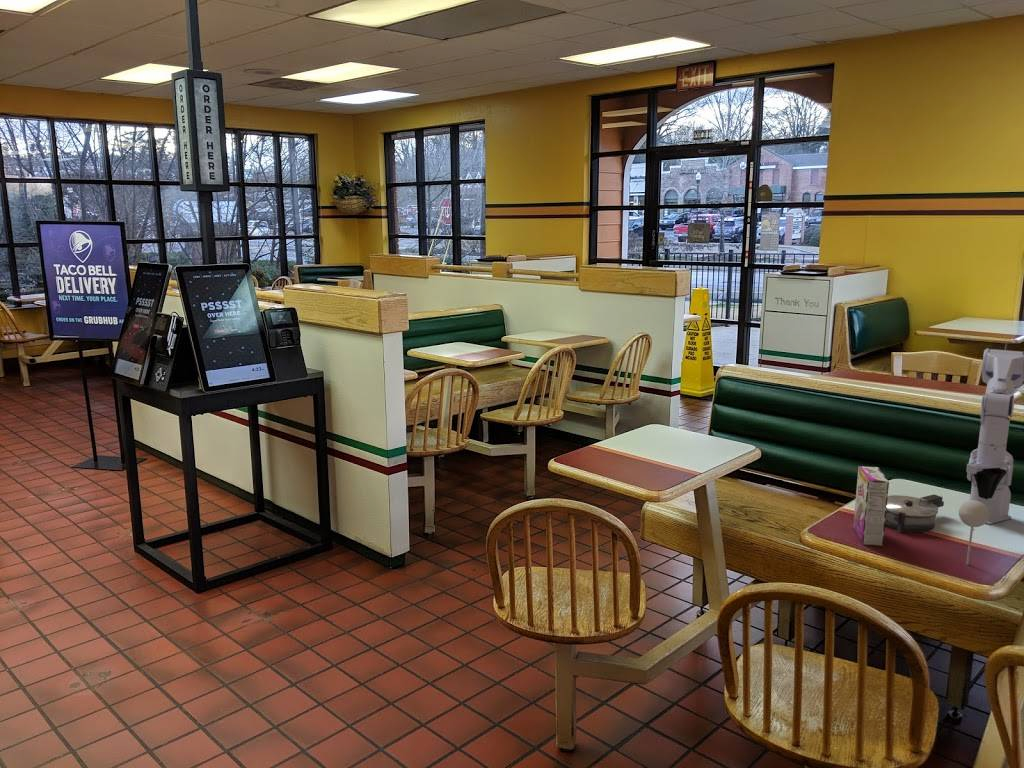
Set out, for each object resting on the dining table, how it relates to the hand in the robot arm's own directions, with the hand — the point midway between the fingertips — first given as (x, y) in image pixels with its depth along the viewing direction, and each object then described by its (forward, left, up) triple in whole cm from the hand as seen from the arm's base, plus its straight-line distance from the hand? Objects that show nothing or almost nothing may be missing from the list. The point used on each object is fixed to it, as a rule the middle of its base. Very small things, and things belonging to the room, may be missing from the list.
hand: (985, 497), depth 193 cm
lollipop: (+17, +8, -11) cm, 22 cm away
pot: (+4, -15, -10) cm, 19 cm away
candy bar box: (+24, -13, -11) cm, 29 cm away
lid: (+4, -15, -6) cm, 17 cm away
